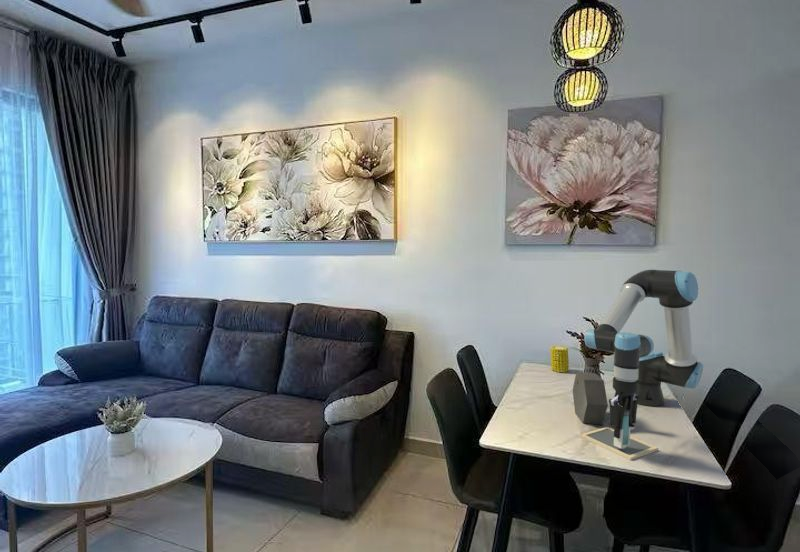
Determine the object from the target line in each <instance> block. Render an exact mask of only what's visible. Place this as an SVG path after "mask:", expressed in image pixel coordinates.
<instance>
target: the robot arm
mask: <svg viewBox="0 0 800 552" xmlns="http://www.w3.org/2000/svg"><path fill="white" fill-rule="evenodd" d="M698 284H699V283H698V279H697V277H696V276H695V274H693V273H692V272H691V271H683V270H667V269H666V270H665V269H664V270H663V269H646V270H642V271H640V272H638V273H635V274H633V275H632V276H630V277H629V278H627V280H626V281H624V283H623V284H622V285H621V287H620V293H619V294H618V296H617V298H616V299H615V301H614V303H613V304H612V306H610V309H608V311H607V313H606V315H605V316H604V317H603V319H602V321H601V322H600V324H599V325H598V326H597V328H588V329H587V330H586V331H585V333H584V344H585V346H586V347H587V348H590V349H594V350H596V351H597V350H599V351H602V352H603V351H604V352H609V353H614V354H613V356H614V357H613V374H612V376H613V378H612V389H613V390H614V391H615V393H614V397H613V398H609V399H608V404H609V426H610V428H613V429H614V446H617V447H619V448H622V444H623V429H622V423H623V417H624V411H625V410H626V409H627V410H629V425H628V442H627V446H630V436H631V431H632V430H631V427H634V428H635V426H634V425H633V423H634V424H635V425H636V421H637V412H638V405H642V406H647V407H662V406H664V405H665V396H664V393H663V389H662V387H661V386H662V385H661V384H662V383H664V384H668V385H669V384H670V385H673V386H677V387H683V388H686V389H694V390H695V389H696V388H697V387H698V386H699V383H700V382H701V379H702V374H703V370H704V369H703V368H704V364H703V363H702V362H700V361H698V359H697V356H696V355H695V354H694V353H693V346H692V345H693V343H692V333H691V332H692V331H691V319H690V317H691V316H690V307H691V306H692V305H693V303H694V302H695V301H696V300H697V298H698V297H699V296H698V295H699V285H698ZM645 298H654V299H658V300H659V301H658V302H659V305H660V306H662V307H663V309H664V320H665V322H664V323H665V331H666V343H667V353H666V354H665V355H664V353H663V352H662V351H660V350H654V348H655V346H654V345H655V344H654V341H653V339H651V337H650V336H648V335H646V334H637V333H632V332H625V331H624V332H621V331H622V330H623V329H624V327H625V325H626V324H627V322H628V320H629V319H630V317H631V316H632V314H633V312H634V310H635V309H636V308H637V306H638V304H639V303H641V302H643V301H644V300H645Z"/></svg>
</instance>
